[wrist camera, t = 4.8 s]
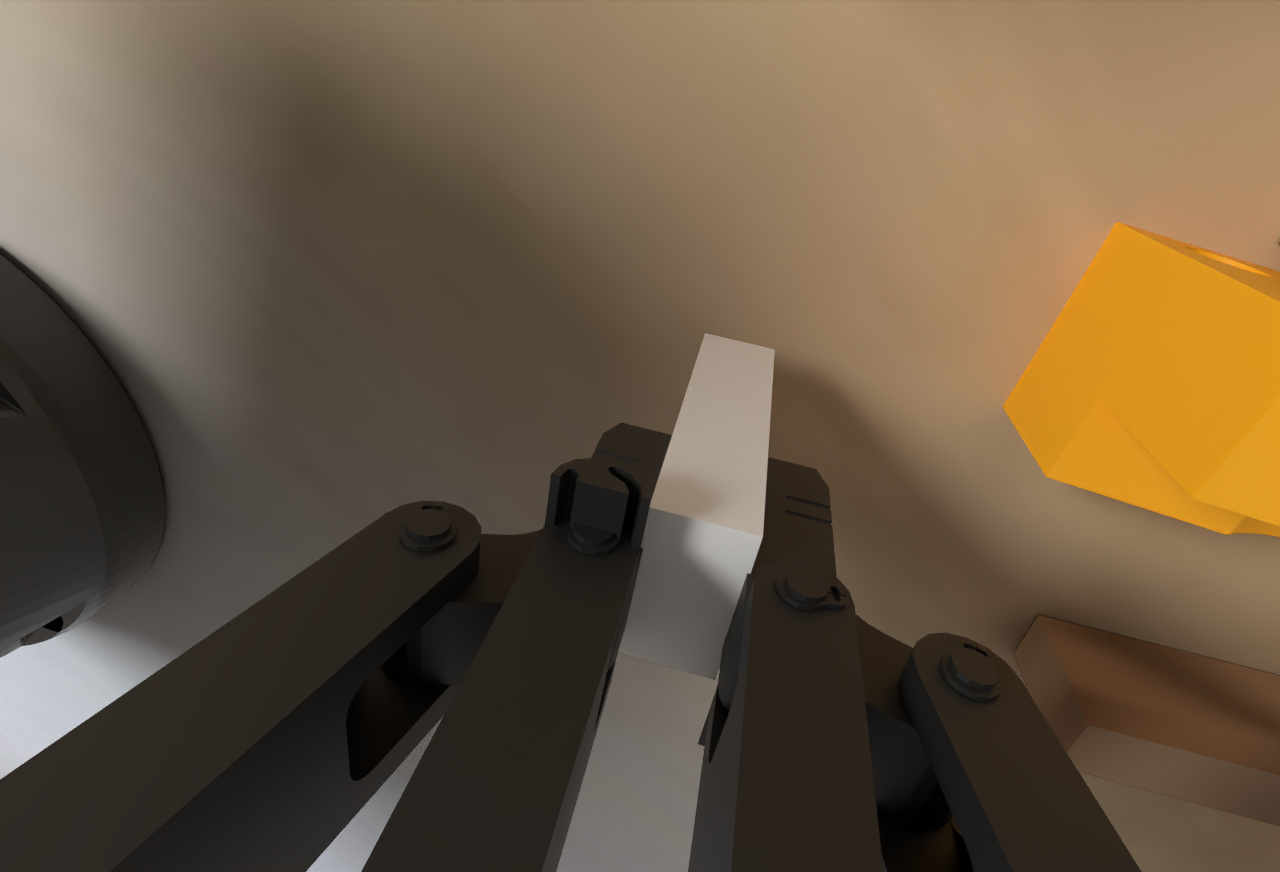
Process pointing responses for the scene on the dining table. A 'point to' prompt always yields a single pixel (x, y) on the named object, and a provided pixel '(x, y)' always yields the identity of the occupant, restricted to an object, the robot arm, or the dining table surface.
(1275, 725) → the channel
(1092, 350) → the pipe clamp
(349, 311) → the dining table surface
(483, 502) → the dining table surface
